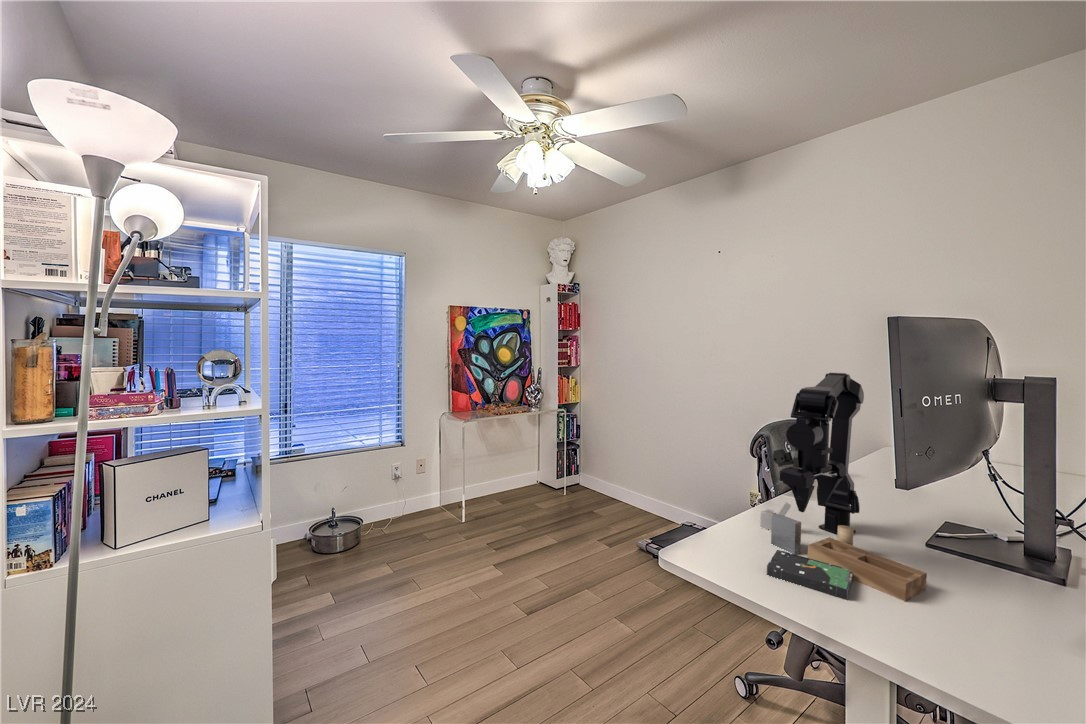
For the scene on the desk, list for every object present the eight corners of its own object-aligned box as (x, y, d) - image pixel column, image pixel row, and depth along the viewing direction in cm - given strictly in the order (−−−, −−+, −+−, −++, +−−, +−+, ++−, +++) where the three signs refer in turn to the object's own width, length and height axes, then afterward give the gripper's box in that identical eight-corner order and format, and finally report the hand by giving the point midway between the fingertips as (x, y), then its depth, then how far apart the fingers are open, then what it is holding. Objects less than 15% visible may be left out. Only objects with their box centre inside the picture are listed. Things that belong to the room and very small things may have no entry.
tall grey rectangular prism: (776, 542, 112) (777, 513, 112) (800, 552, 107) (801, 522, 106) (771, 544, 111) (771, 515, 110) (794, 554, 106) (795, 523, 105)
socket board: (829, 551, 107) (829, 537, 107) (925, 589, 91) (926, 572, 91) (807, 559, 103) (808, 544, 103) (905, 601, 86) (905, 583, 86)
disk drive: (766, 578, 96) (848, 603, 86) (766, 565, 96) (849, 589, 86) (776, 560, 104) (852, 581, 94) (776, 548, 104) (853, 568, 94)
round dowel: (841, 548, 109) (842, 524, 109) (855, 553, 106) (856, 529, 106) (834, 550, 108) (834, 526, 107) (848, 556, 105) (849, 531, 105)
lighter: (760, 528, 121) (761, 499, 120) (760, 525, 122) (761, 497, 122) (789, 534, 117) (790, 504, 117) (790, 531, 118) (791, 502, 118)
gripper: (801, 432, 115) (799, 491, 116) (758, 440, 105) (756, 504, 106) (848, 440, 105) (846, 504, 106) (806, 450, 96) (803, 520, 96)
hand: (812, 508), depth 104 cm, fingers open, 9 cm apart
